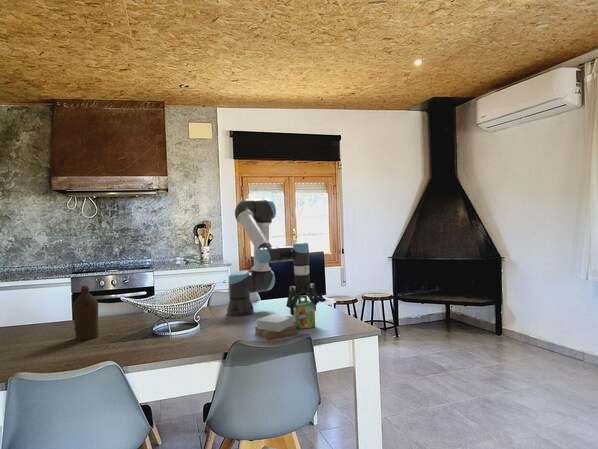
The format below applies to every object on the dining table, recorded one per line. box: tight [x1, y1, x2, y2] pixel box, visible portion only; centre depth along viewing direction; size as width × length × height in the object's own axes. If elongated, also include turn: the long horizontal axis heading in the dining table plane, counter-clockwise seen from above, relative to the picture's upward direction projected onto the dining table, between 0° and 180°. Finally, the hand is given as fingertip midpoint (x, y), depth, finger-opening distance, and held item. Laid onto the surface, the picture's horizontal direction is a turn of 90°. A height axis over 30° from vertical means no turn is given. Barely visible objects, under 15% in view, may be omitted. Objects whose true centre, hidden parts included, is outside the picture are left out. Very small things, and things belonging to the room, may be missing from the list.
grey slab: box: [256, 313, 294, 332], centre depth 184 cm, size 12×12×4 cm
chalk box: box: [293, 294, 316, 330], centre depth 195 cm, size 9×9×15 cm
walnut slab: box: [254, 325, 298, 342], centre depth 184 cm, size 14×14×4 cm
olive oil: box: [72, 284, 99, 342], centre depth 190 cm, size 11×11×25 cm
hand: (303, 319), depth 195 cm, fingers closed on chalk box, 10 cm apart
